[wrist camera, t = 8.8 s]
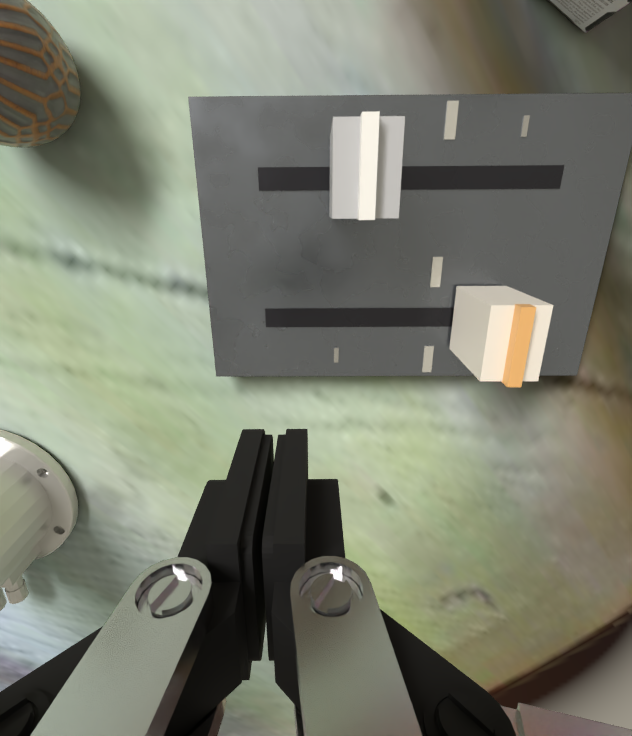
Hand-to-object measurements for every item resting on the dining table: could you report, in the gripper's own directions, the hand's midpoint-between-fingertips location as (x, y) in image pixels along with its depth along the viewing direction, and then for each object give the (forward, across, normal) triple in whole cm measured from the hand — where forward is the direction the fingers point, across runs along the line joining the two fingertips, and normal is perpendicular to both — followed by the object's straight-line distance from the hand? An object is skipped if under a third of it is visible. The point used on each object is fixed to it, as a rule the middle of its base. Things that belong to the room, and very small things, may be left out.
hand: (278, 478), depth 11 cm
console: (+18, -6, -4) cm, 20 cm away
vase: (+19, +15, -13) cm, 27 cm away
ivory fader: (+16, -11, 0) cm, 20 cm away
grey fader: (+16, -3, -8) cm, 18 cm away
